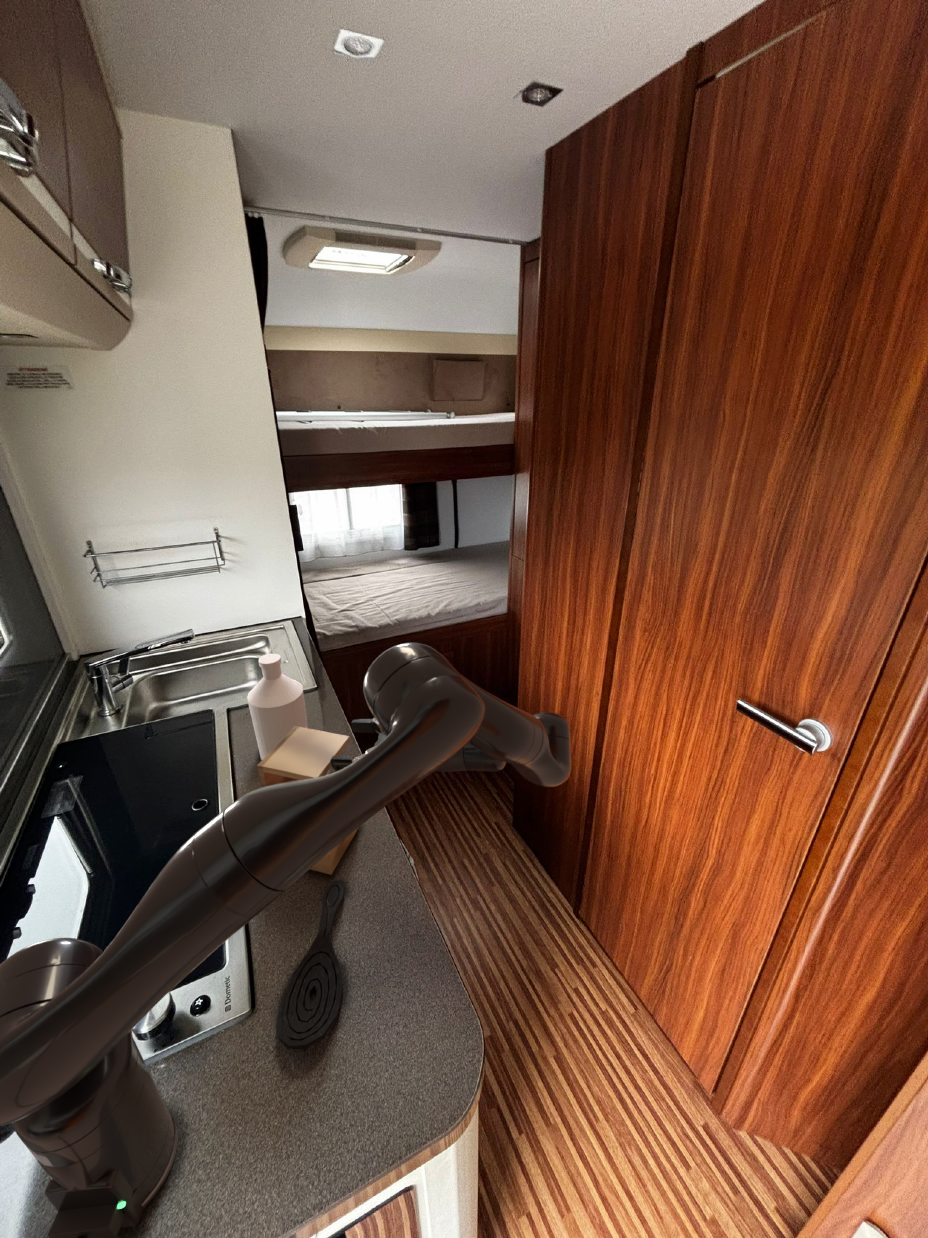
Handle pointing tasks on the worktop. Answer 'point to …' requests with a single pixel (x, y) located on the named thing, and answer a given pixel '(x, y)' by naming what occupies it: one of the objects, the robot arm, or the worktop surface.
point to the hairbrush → (314, 984)
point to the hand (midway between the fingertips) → (342, 743)
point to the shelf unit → (306, 771)
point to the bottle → (275, 705)
